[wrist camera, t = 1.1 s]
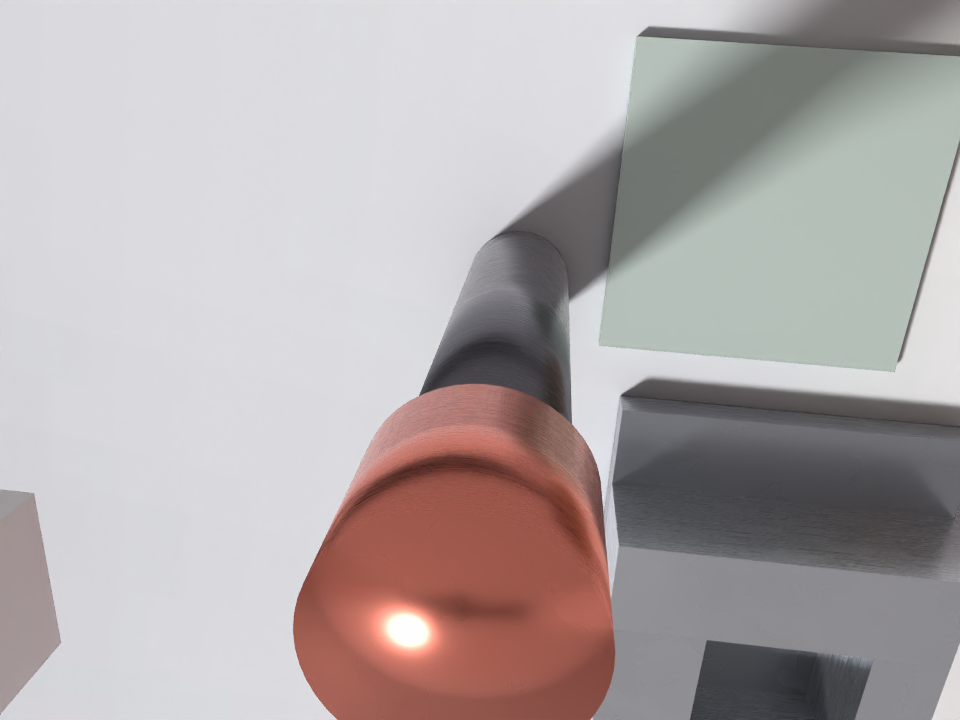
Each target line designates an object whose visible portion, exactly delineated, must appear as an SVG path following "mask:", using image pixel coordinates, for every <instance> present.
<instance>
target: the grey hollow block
mask: <svg viewBox="0 0 960 720" xmlns="http://www.w3.org/2000/svg"><path fill="white" fill-rule="evenodd" d="M959 504H960V427H951V426H941V425H930V424H919V423H909V422H898V421H887V420H876V419H866V418H855V417H844V416H833V415H823V414H812V413H801V412H791V411H780V410H769V409H758V408H748V407H737V406H726V405H715V404H705V403H694V402H683V401H672V400H662V399H651V398H640V397H630V396H620V401H619V408H618V416H617V423H616V430H615V437H614V444H613V452H612V459H611V466H610V473H609V480H608V487H607V495H606V502H605V509H604V527H605V538H606V550H607V561H608V572H609V584H610V595H611V607H612V618H613V630H614V641H615V665H614V672H613V676H612V680H611V684H610V687H609V689H608V692H607V694H606V696H605V699H604V701H603V702H602V704H601V706H600V707H599V709H598V710H597V712H596V713H595V715H594V716H593V717H592V718H591V719H590V720H932V718H933V715H934V712H935V709H936V707H937V704H938V701H939V699H940V696H941V693H942V690H943V688H944V685H945V682H946V680H947V677H948V674H949V671H950V669H951V666H952V663H953V661H954V658H955V655H956V652H957V650H958V647H959V644H960V525H959V524H958V523H957V521H956V520H955V519H954V518H955V515H956V512H957V509H958V507H959Z"/></svg>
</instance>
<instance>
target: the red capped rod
mask: <svg viewBox="0 0 960 720" xmlns="http://www.w3.org/2000/svg"><path fill="white" fill-rule="evenodd" d="M293 635H294V643H295V650H296V653H297V657H298V660H299V664H300V666H301V669H302V671H303V673H304V676H305V678H306V680H307V682H308V683H309V685H310V687H311V688H312V690H313V692H314V693H315V695H316V696H317V697H318V699H319V700H320V701H321V702H322V704H323V705H324V706H325V707H326V709H327V710H328V711H329V712H330V713H331V714H332V715H333V716H334V717H335V718H336V719H337V720H590V719H591V718H592V717H593V716H594V715H595V713H596V712H597V710H598V709H599V707H600V706H601V704H602V702H603V701H604V699H605V696H606V694H607V692H608V689H609V687H610V684H611V680H612V676H613V672H614V665H615V641H614V630H613V618H612V607H611V595H610V584H609V572H608V561H607V550H606V538H605V527H604V515H603V504H602V492H601V482H600V476H599V472H598V468H597V464H596V462H595V459H594V457H593V455H592V452H591V450H590V449H589V447H588V445H587V444H586V442H585V440H584V438H583V437H582V436H581V435H580V433H579V432H578V431H577V430H576V428H575V427H574V426H573V425H572V414H571V375H570V335H569V295H568V272H567V268H566V264H565V262H564V259H563V258H562V256H561V254H560V253H559V251H558V250H557V249H556V248H555V247H554V246H553V245H552V244H551V243H550V242H549V241H547V240H546V239H544V238H542V237H540V236H538V235H536V234H532V233H528V232H509V233H505V234H502V235H499V236H497V237H495V238H493V239H491V240H490V241H489V242H487V243H486V244H485V245H484V246H483V247H482V248H481V249H480V251H479V252H478V253H477V255H476V257H475V259H474V261H473V263H472V266H471V268H470V271H469V273H468V276H467V278H466V281H465V283H464V286H463V288H462V291H461V293H460V296H459V298H458V301H457V303H456V306H455V308H454V311H453V313H452V316H451V318H450V320H449V323H448V325H447V328H446V330H445V333H444V335H443V338H442V340H441V343H440V345H439V348H438V350H437V353H436V355H435V358H434V360H433V363H432V365H431V368H430V370H429V373H428V375H427V378H426V380H425V383H424V385H423V387H422V390H421V392H420V395H419V397H417V398H415V399H413V400H411V401H409V402H408V403H406V404H405V405H403V406H402V407H400V408H399V409H397V410H396V411H395V412H394V413H393V414H392V415H391V416H390V417H389V418H388V419H387V420H386V421H385V422H384V423H383V425H382V426H381V427H380V428H379V429H378V431H377V433H376V434H375V436H374V438H373V439H372V441H371V443H370V445H369V447H368V449H367V451H366V453H365V455H364V457H363V460H362V462H361V464H360V466H359V468H358V470H357V472H356V474H355V476H354V478H353V480H352V483H351V485H350V487H349V489H348V491H347V493H346V495H345V497H344V499H343V501H342V504H341V506H340V508H339V510H338V512H337V514H336V516H335V518H334V520H333V522H332V524H331V527H330V529H329V531H328V533H327V535H326V537H325V539H324V541H323V543H322V545H321V548H320V550H319V552H318V554H317V556H316V558H315V560H314V562H313V564H312V566H311V568H310V571H309V573H308V575H307V577H306V579H305V581H304V583H303V586H302V588H301V591H300V593H299V596H298V598H297V603H296V607H295V612H294V624H293Z"/></svg>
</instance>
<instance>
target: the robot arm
mask: <svg viewBox="0 0 960 720" xmlns="http://www.w3.org/2000/svg"><path fill="white" fill-rule="evenodd" d="M60 643H61V640H60V634H59V629H58V623H57V618H56V612H55V607H54V601H53V596H52V590H51V585H50V579H49V574H48V568H47V563H46V557H45V552H44V546H43V541H42V535H41V530H40V524H39V519H38V513H37V508H36V502H35V497H34V493H27V492H19V491H10V490H1V489H0V714H1V713H2V711H3V710H4V709H5V708H6V707H7V706H8V704H9V703H10V702H11V701H12V700H13V699H14V697H15V696H16V695H17V694H18V693H19V691H20V690H21V689H22V688H23V687H24V686H25V684H26V683H27V682H28V681H29V680H30V679H31V677H32V676H33V675H34V674H35V673H36V672H37V670H38V669H39V668H40V667H41V666H42V664H43V663H44V662H45V661H46V660H47V659H48V657H49V656H50V655H51V654H52V653H53V652H54V650H55V649H56V648H57V647H58V646H59V645H60ZM932 720H960V644H959V647H958V650H957V652H956V655H955V658H954V661H953V663H952V666H951V669H950V671H949V674H948V677H947V680H946V682H945V685H944V688H943V690H942V693H941V696H940V699H939V701H938V704H937V707H936V709H935V712H934V715H933V718H932Z"/></svg>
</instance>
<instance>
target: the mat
mask: <svg viewBox="0 0 960 720" xmlns="http://www.w3.org/2000/svg"><path fill="white" fill-rule="evenodd" d="M959 141H960V56H945V55H929V54H913V53H897V52H881V51H865V50H849V49H833V48H817V47H801V46H785V45H769V44H753V43H737V42H721V41H705V40H689V39H674V38H658V37H642V36H637V40H636V48H635V56H634V64H633V72H632V80H631V88H630V96H629V104H628V112H627V120H626V128H625V136H624V144H623V152H622V160H621V168H620V176H619V184H618V192H617V200H616V209H615V217H614V225H613V233H612V241H611V249H610V257H609V265H608V273H607V281H606V289H605V297H604V305H603V313H602V321H601V329H600V337H599V346H608V347H619V348H631V349H642V350H653V351H664V352H675V353H687V354H698V355H709V356H720V357H732V358H743V359H754V360H765V361H776V362H788V363H799V364H810V365H821V366H832V367H844V368H855V369H866V370H877V371H889V372H895V369H896V365H897V361H898V358H899V354H900V351H901V347H902V344H903V340H904V337H905V333H906V329H907V326H908V322H909V319H910V315H911V312H912V308H913V305H914V301H915V297H916V294H917V290H918V287H919V283H920V280H921V276H922V272H923V269H924V265H925V262H926V258H927V255H928V251H929V248H930V244H931V240H932V237H933V233H934V230H935V226H936V223H937V219H938V216H939V212H940V208H941V205H942V201H943V198H944V194H945V191H946V187H947V184H948V180H949V176H950V173H951V169H952V166H953V162H954V159H955V155H956V152H957V148H958V144H959Z"/></svg>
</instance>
